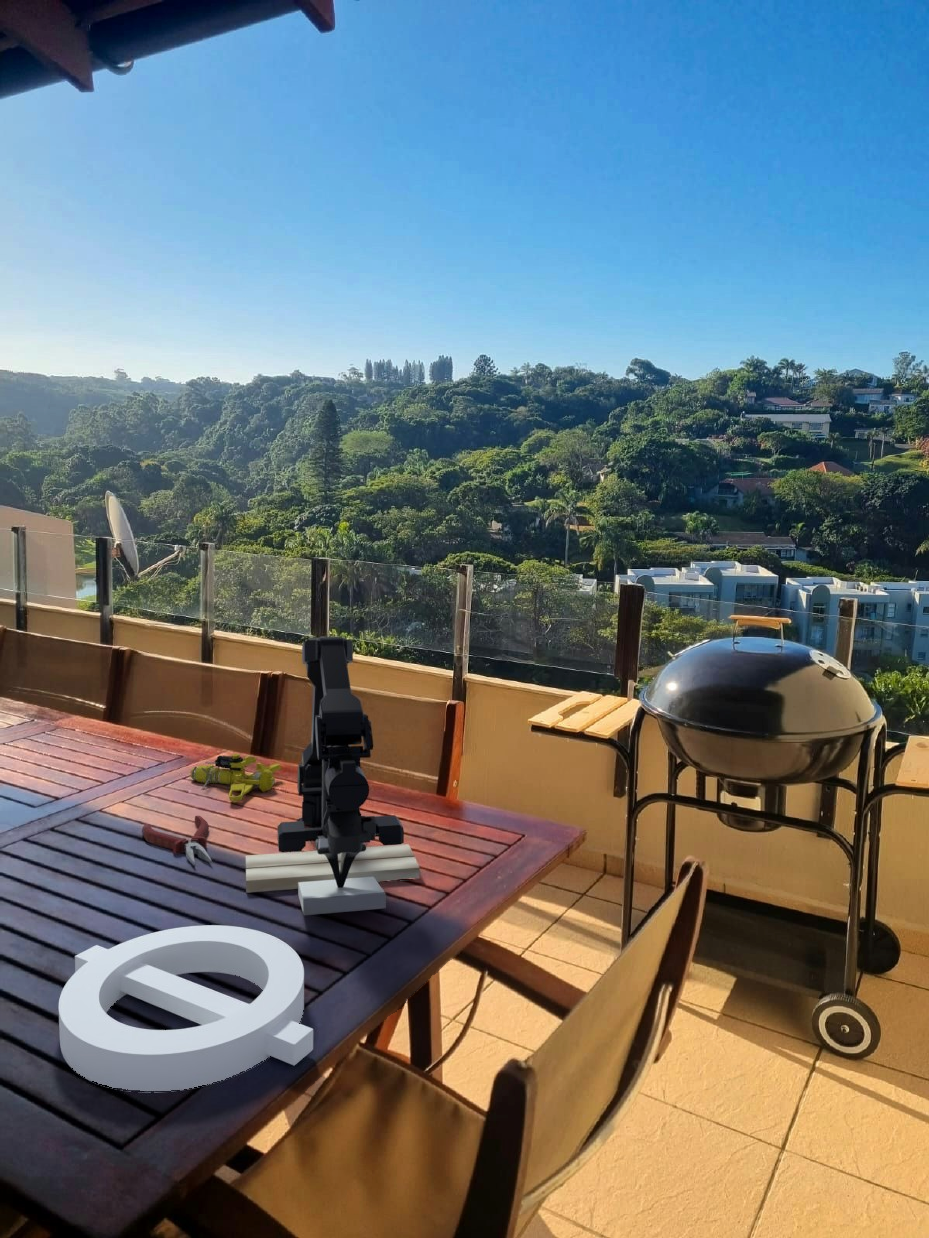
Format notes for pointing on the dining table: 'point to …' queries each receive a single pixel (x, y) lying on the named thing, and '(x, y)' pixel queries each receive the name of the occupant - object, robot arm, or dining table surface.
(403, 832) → the robot arm
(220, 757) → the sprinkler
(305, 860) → the laid plank
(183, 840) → the pliers
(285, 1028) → the ring with crossbar
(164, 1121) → the dining table surface
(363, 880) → the white square slab
